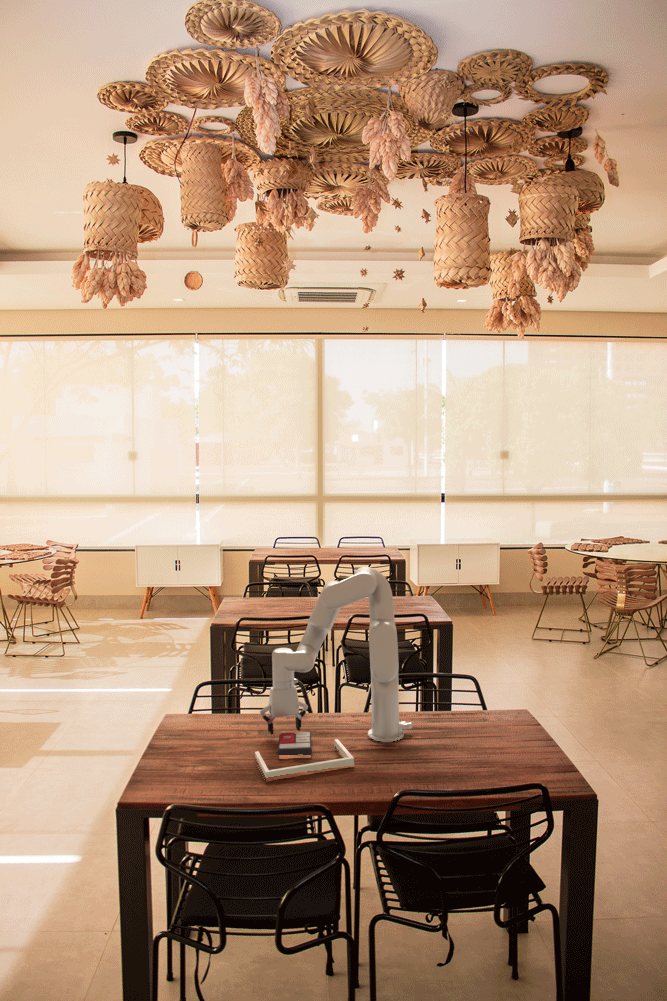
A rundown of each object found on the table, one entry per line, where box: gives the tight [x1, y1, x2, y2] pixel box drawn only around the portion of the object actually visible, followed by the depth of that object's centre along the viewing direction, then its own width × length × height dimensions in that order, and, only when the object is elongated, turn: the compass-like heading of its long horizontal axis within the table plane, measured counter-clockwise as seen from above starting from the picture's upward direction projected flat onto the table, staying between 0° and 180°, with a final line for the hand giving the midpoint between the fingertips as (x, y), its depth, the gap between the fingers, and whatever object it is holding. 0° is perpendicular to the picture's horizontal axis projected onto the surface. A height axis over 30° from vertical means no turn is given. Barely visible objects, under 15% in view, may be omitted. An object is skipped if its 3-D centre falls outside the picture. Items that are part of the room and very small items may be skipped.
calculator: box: [277, 731, 313, 756], centre depth 239 cm, size 11×4×15 cm
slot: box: [254, 738, 355, 778], centre depth 228 cm, size 28×16×3 cm, turn 108°
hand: (284, 731), depth 251 cm, fingers open, 9 cm apart
